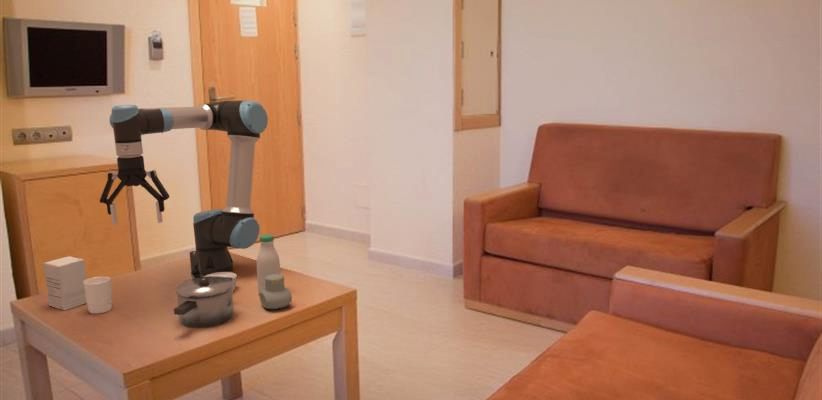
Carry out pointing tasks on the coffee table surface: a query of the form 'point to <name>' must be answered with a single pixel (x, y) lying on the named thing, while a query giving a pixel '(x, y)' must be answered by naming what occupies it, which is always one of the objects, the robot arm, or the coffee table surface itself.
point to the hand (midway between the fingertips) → (137, 223)
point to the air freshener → (275, 293)
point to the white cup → (98, 294)
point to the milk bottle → (266, 261)
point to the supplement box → (65, 282)
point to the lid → (202, 282)
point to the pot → (205, 310)
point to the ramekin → (226, 274)
